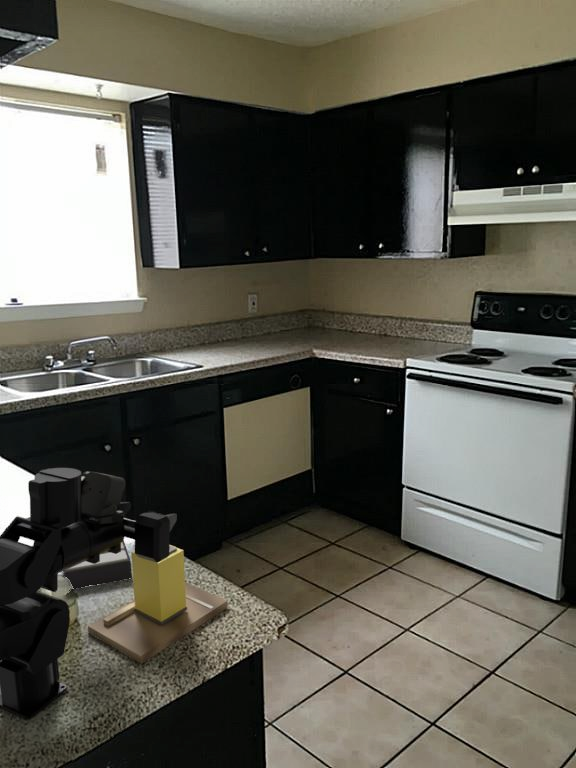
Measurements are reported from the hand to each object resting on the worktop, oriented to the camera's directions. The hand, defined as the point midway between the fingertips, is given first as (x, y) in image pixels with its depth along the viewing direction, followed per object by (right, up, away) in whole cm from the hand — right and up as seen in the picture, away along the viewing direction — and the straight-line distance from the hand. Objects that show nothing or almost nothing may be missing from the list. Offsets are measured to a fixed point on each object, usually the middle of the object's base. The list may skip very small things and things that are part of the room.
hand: (152, 510), depth 102 cm
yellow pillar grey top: (+2, -15, -1) cm, 15 cm away
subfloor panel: (+1, -17, -1) cm, 17 cm away
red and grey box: (-14, -13, +17) cm, 25 cm away
